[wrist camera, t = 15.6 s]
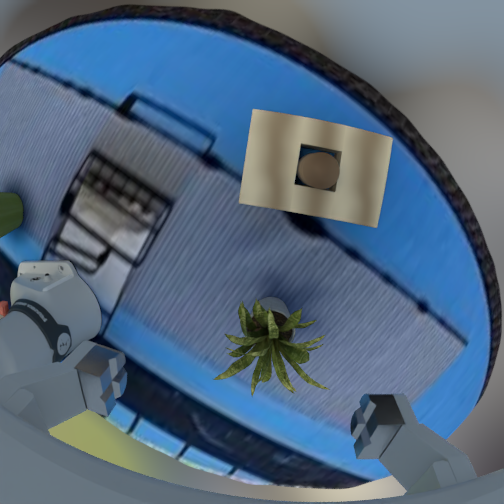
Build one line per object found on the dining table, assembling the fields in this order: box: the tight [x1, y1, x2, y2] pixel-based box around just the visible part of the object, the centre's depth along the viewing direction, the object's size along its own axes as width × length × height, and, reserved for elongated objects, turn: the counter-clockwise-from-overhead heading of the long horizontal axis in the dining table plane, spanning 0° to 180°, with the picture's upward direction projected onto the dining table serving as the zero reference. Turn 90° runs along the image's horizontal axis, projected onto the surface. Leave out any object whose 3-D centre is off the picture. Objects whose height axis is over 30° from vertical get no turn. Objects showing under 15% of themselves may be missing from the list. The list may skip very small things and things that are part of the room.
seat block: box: [239, 109, 393, 228], centre depth 38 cm, size 18×12×5 cm, turn 81°
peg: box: [296, 152, 340, 189], centre depth 36 cm, size 4×4×10 cm
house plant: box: [214, 297, 330, 396], centre depth 39 cm, size 14×14×16 cm
